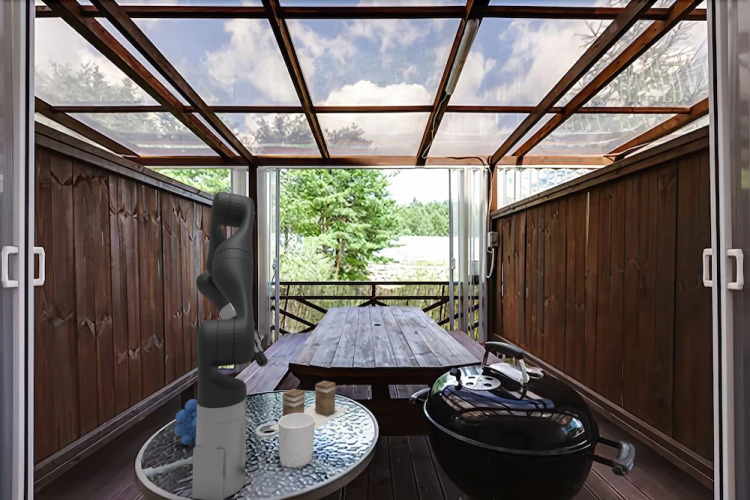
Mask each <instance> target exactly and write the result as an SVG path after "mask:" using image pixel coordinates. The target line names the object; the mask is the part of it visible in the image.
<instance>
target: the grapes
mask: <svg viewBox="0 0 750 500" xmlns="http://www.w3.org/2000/svg"><path fill="white" fill-rule="evenodd" d="M184 404H185V405H184V409H181V410H179V411H178V412H177V413H176V414H175V421H176V423H177V424H176V425H175V426H174V430H173V433H174V435H176V437H177V436H178V437H181V438H180V441H181V444H182V445H185V446H187V445H190V444H192V443H193V444H194V445H195V446H196V425H197V398H196V399H194V398H190V399H189V400H188V401H187V402H186V403H184Z"/></svg>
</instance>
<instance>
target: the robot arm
mask: <svg viewBox="0 0 750 500" xmlns="http://www.w3.org/2000/svg"><path fill="white" fill-rule="evenodd" d="M254 219H255V204H254V200H253V199H252V198H251V197H249V196H246V195H241V194H237V193H233V192H231V193H230V192H226V191H218V192H216V193H215V194H214V196H213V200H212V203H211V208H210V219H209V233H208V234H209V244H208V245H209V246H208V251H207V257H206V262H205V269H206V272H203V273H200V274H199V275H197V278H196V280H195V285H196V288H197V290H198V291H199V292H200V294H201V295H203V297H205V298H206V299H207V300H208V301H209V302H210V303H212V304H213V305H214V306H215V309H216V310H217V312H218V314H219V316H220V319H209V320H208V319H206V320H204V321H201V323H200V325H199V327H198V330H197V333H196V335H197V337H196V354H197V355H196V356H197V357H196V361H197V363H196V364H197V393H196V394H197V397H196V400H197V425H196V445H195V446H194V448H193V451H192V489H191V490H192V491H191V493H192V494H191V495H192V496H191V498H192V499H196V500H197V499H198V500H225V499H226V498H229V497H231V496H233V495H235V494H237V493H238V492H239V491H240V490H241V489H242V488H243V487H244V485H245V482H246V438H247V437H246V432H247V430H246V429H247V395H248V394H247V392H248V391H247V389H248V388H247V384H246V383H245V381H243V380H241V379H239V378H235V377H232V376H228V375H226V374H224V373H222V372H221V371H219V370H217V367H227V366H238V365H245V364H249V363H250V362H251V361H252V360H253V359H254V361H255V362H256V364H257V365H258V366H259V367H260V368H262V367H265V366H266V365H267V364H268V362H269V361H268V358H267V356H266V354H265V353H264V351H265V350H267V348H268V339H269V336H268V334H264V335H263V334H260V332H259V331H258V330H257V329H256V323H255V318H254V307H253V305H254V304H253V286H254V285H253V283H254V254H253V253H254V251H253V248H254V247H253V233H254V223H255V222H254V221H255V220H254ZM222 226H224V227H230V228H237V230H236V231H235V232H234V233H233V234H232V235H230V236H229V237H228V238H227V236H226V234H225V233H224V231H223V228H222Z"/></svg>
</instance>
